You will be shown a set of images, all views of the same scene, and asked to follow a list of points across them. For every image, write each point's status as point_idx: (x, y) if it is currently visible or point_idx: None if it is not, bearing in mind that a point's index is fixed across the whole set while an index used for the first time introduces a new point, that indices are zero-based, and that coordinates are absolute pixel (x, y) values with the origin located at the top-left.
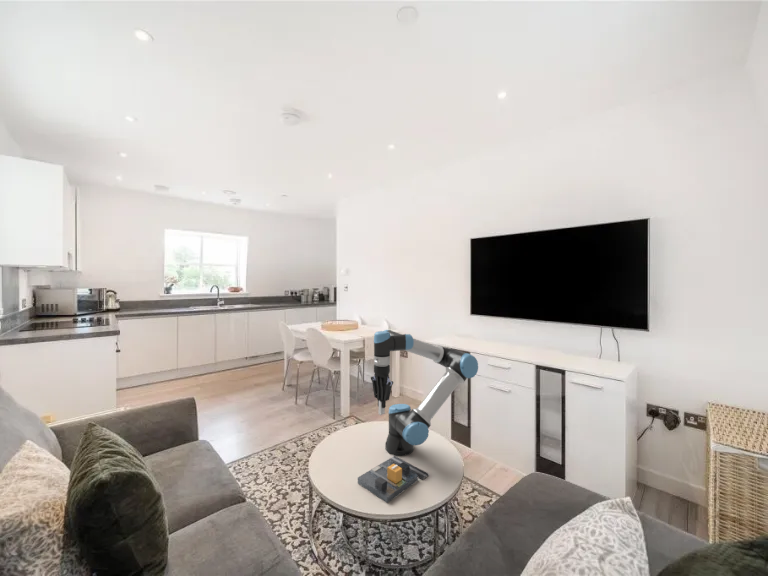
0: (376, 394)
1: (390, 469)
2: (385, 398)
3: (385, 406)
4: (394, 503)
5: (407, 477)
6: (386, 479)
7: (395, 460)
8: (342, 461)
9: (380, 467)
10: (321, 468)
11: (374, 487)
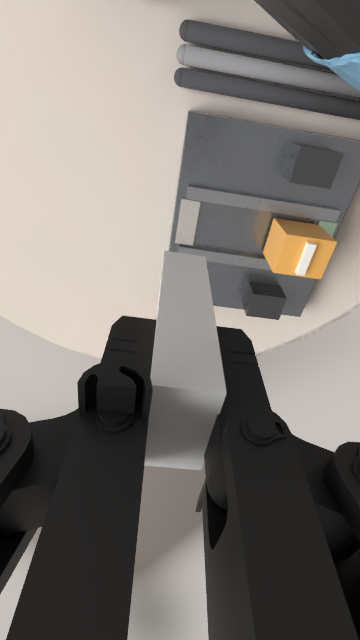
0: (5, 567)
1: (290, 274)
2: (357, 588)
3: (250, 342)
4: (313, 294)
5: (332, 190)
6: (264, 263)
7: (211, 68)
8: (15, 222)
9: (197, 204)
10: (6, 297)
11: (242, 306)
